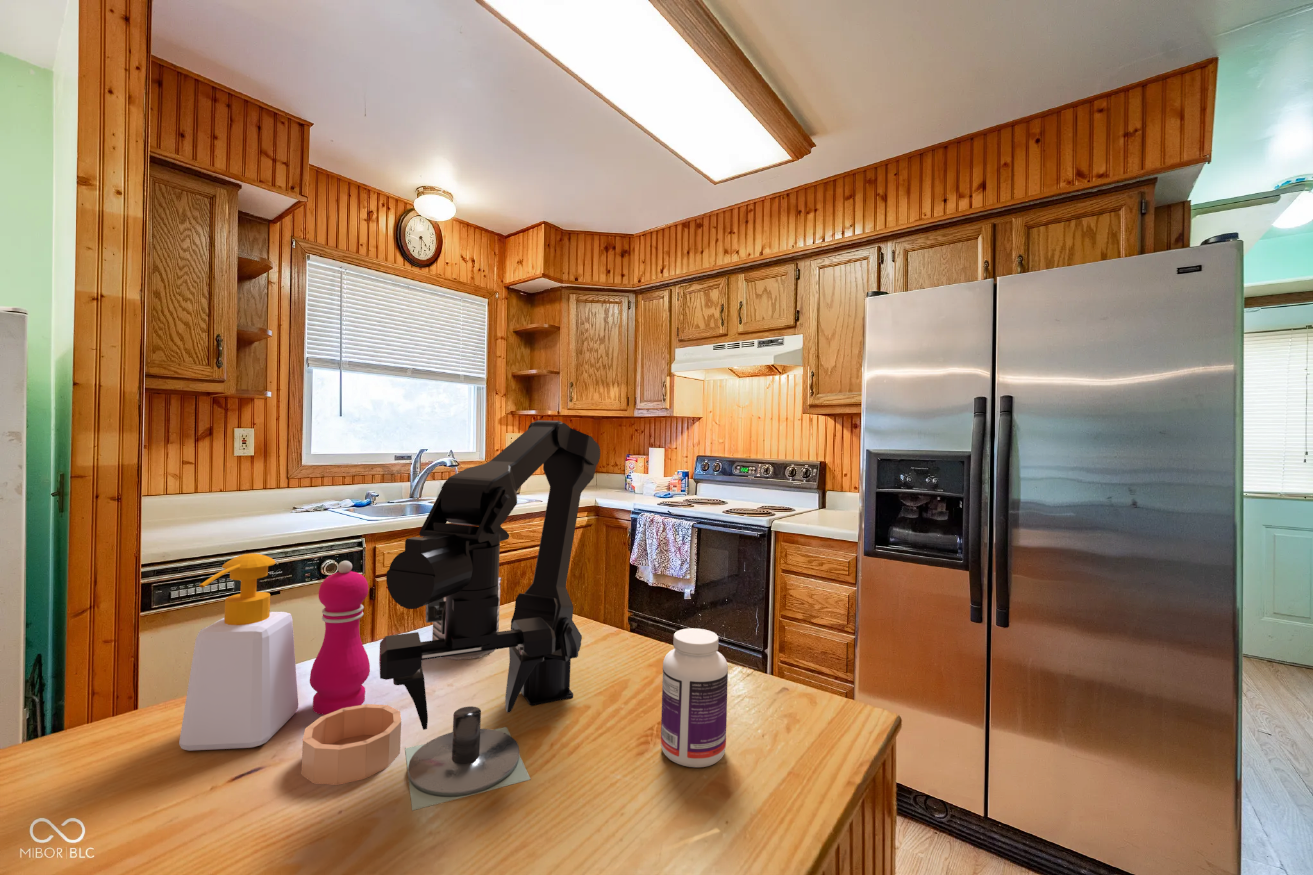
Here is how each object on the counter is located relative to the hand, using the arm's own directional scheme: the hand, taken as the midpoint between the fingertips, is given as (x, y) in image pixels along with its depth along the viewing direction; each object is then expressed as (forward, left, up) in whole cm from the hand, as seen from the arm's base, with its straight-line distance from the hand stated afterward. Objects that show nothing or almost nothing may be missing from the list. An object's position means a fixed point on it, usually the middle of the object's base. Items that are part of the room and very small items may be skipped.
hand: (467, 719), depth 63 cm
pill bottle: (-25, +9, -6) cm, 27 cm away
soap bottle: (+25, -16, -6) cm, 30 cm away
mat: (0, 0, -5) cm, 5 cm away
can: (-5, -36, -6) cm, 37 cm away
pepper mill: (+14, -21, -6) cm, 26 cm away
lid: (0, 0, -5) cm, 5 cm away
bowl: (+12, -6, -5) cm, 14 cm away
